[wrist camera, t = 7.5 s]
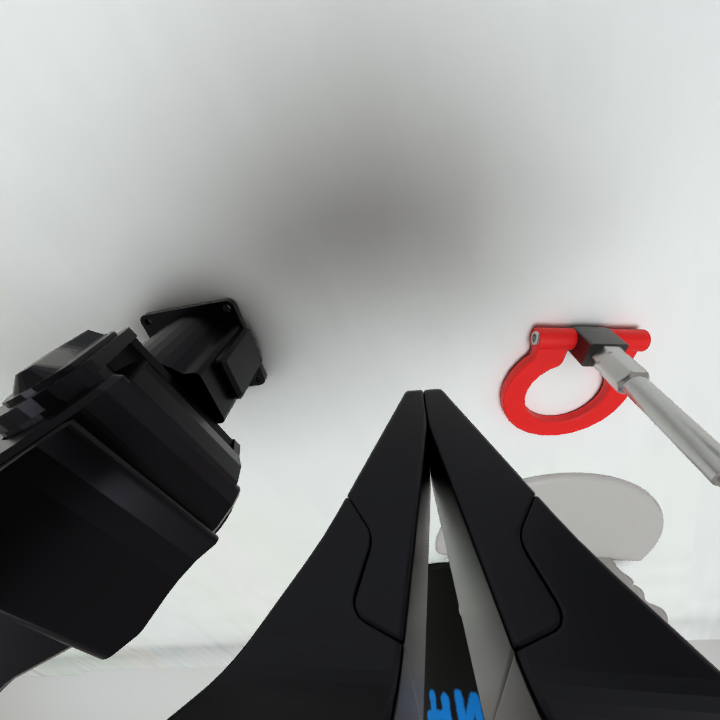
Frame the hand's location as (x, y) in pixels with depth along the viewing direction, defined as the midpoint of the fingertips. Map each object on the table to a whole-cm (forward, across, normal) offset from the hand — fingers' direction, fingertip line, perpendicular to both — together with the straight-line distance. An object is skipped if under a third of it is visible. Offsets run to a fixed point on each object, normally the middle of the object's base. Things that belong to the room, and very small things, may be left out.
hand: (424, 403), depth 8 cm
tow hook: (+14, -10, +10) cm, 20 cm away
